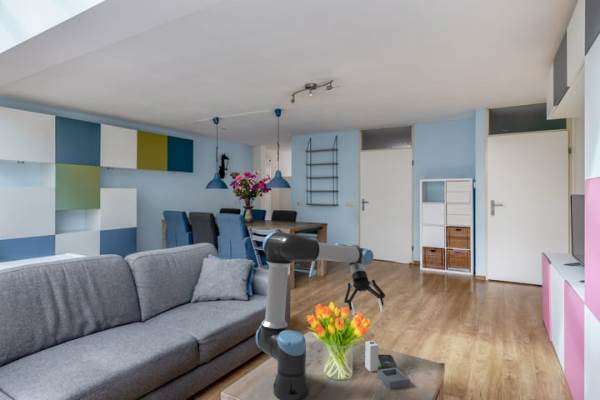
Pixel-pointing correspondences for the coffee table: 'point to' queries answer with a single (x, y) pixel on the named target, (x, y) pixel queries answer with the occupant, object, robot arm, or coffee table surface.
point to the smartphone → (386, 361)
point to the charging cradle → (393, 378)
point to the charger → (371, 356)
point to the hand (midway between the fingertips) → (368, 314)
